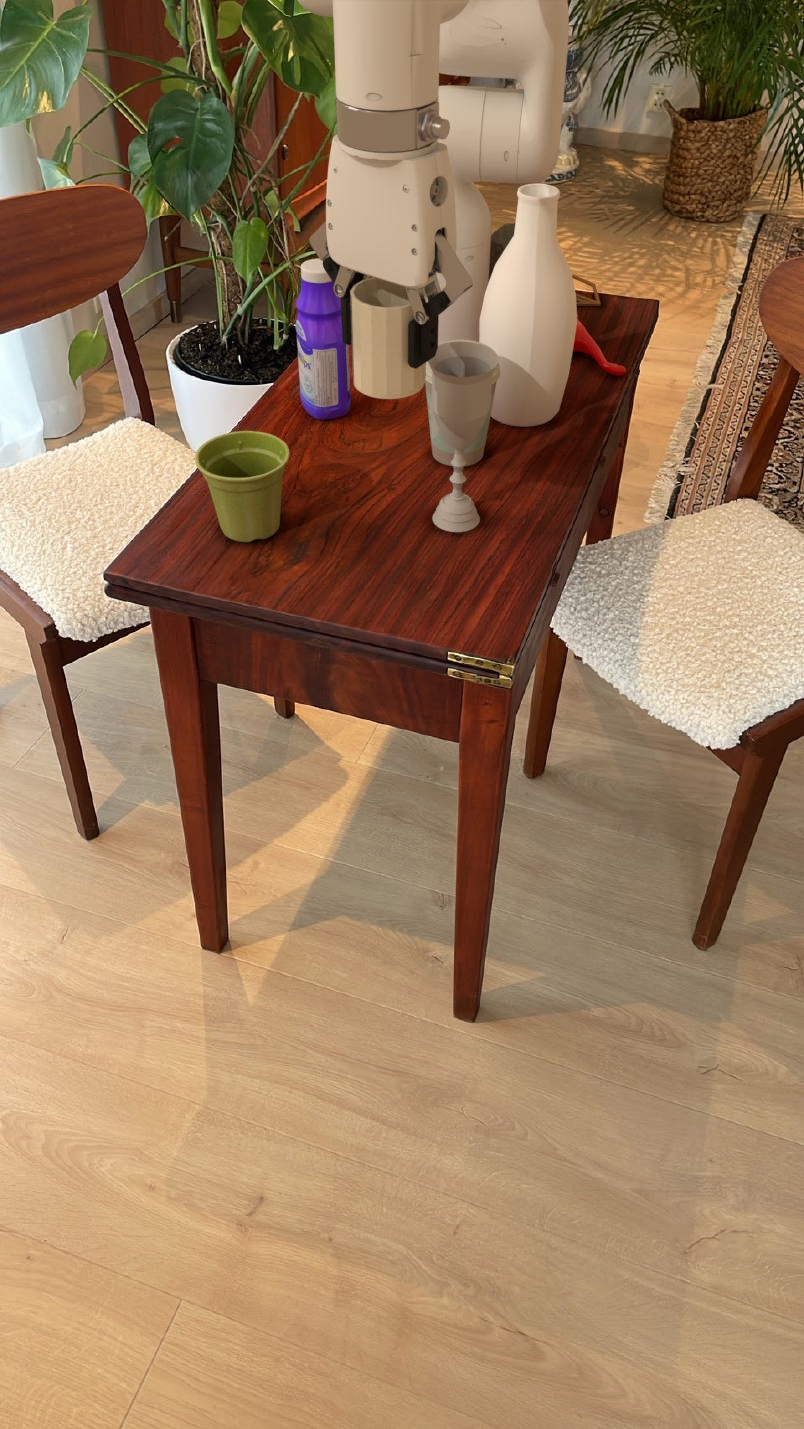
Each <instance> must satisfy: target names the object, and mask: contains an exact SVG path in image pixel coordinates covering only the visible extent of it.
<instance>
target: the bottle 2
mask: <svg viewBox="0 0 804 1429" xmlns="http://www.w3.org/2000/svg"><path fill="white" fill-rule="evenodd" d="M516 195H517V206H516V214H515V215H516V217H515V222H514V223H515V231H514V236H513V237H512V239H511V241H510V242H509V244H508V245H507V247H506V249H505V250H504V252H503V253H502V255H501V256H500V258H499V260H498V261H497V263H496V264H495V267H494V270H493V272H492V275H491V278H490V280H489V283H488V286H487V289H486V292H485V296H484V301H483V306H482V311H481V315H480V320H479V342H480V343H483V344H485V345H487V346H489V347H490V348H492V349H493V350H494V351H495V352H496V354H497V356H498V362H499V365H500V372H501V374H500V377H499V379H498V380H497V382H496V388H495V393H494V399H493V404H492V410H491V415H490V418H492V419H493V420H495V421H497V422H498V423H500V424H503V425H507V426H511V427H522V428H526V427H536V426H541V425H544V424H546V423H548V422H549V421H551V420H552V419H553V418H555V416H556V415H557V414H558V413H559V411H560V409H561V406H562V405H561V404H562V401H563V398H564V394H565V390H566V387H567V382H568V378H569V375H570V370H571V364H572V358H573V353H574V352H573V346H574V339H575V333H576V326H577V314H578V310H577V308H578V306H577V305H576V302H577V301H576V288H575V283H574V279H573V278H572V275H573V274H572V269H571V266H570V265H569V263H568V260H567V258H566V255H565V253H564V251H563V249H562V247H561V245H560V242H559V240H558V237H557V228H558V227H557V226H558V206H559V204H558V203H559V198H560V196H561V190H560V189H559V188H558V187H556V186H554V185H551V184H548V183H547V184H546V183H528V184H524V185H521V186H519V187H518V188H517V192H516Z"/></svg>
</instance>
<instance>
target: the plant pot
mask: <svg viewBox="0 0 804 1429" xmlns="http://www.w3.org/2000/svg"><path fill="white" fill-rule="evenodd" d="M289 459H290V449H289V446H288V444H287V443H286V442H285V441H284V440H282V439H281V438H279V437H278V436H276V435H274V434H271V433H267V432H263V431H254V430H237V431H231V432H227V433H223V434H219V435H217V436H214V437H212V438H210V439H208V440H207V441H205V442H204V443H202V445H200V446H199V447H198V449H197V450H196V452H195V456H194V461H195V462H194V463H195V465H196V468H197V469H198V471H199V472H200V473H202V477H203V479H204V480H205V482H206V483H207V486H208V489H209V492H210V496H211V499H212V502H213V507H214V509H215V513H216V516H217V519H218V523H219V527H220V529H221V532H222V533H223V535H224V536H225V537H226V538H228V539H230V540H232V541H235V542H240V543H251V542H253V541H256V540H266V539H269V538H270V537H272V536H273V535H275V534H276V533H277V531H278V530H279V528H280V523H281V506H282V489H283V475H284V474H285V470H286V465H287V464H288V461H289Z"/></svg>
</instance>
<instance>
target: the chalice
mask: <svg viewBox="0 0 804 1429" xmlns="http://www.w3.org/2000/svg"><path fill="white" fill-rule="evenodd" d="M428 363H429V365H430V367H431V369H432V405H431V407H432V410H433V413H434V416H435V419H436V423H437V425H438V427H439V429H440V431H441V433H442V435H443V437H444V439H445V441H446V443H447V445H448V446H449V447H451V448H454V450H455V454H454V458H453V460H452V461H451V464H452V466H451V467H452V468H453V472H452V475H450V476H449V481H450V482H451V483H452V492H450V493H448V494H446V495H444V496H443V497H442V498H441V499H440V500H439V503H438V505H437V507H436V509H435V511H434V513H433V515H432V522H433V524H434V525H435V526H436V527H437V528H438V529H441V530H443V531H446V532H451V533H464V532H469V531H471V530H474V529H475V528H476V527H477V526H478V525H479V523H480V522H481V517H480V515H479V512H478V509H477V508H476V506H475V502H474V500H473V499H472V498H471V497H470V496H469V495H468V494H465V493H464V492H463V489H462V488H463V484H464V483H465V482H466V481H467V477H466V476H465V475H464V472H463V470H464V467H466V466H465V465H466V461H465V460H464V455H463V451H464V449H465V448H468V447H470V446H471V445H472V444H473V442H474V440H475V438H476V437H477V435H478V433H479V432H480V430H481V428H482V426H483V425H484V422H485V420H486V418H487V415H488V413H489V410H490V406H491V390H492V374H493V371H494V369H495V367H496V366H497V364H498V356H497V354H496V352H495V351H493V350H492V349H491V348H489V347H487V346H484V345H482V344H478V343H472V342H452V343H446V344H443V345H440V346H438V349H437V351H436V355H435V356H434V357H433V358H432V359H430V360H429V361H428Z"/></svg>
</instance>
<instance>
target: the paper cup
mask: <svg viewBox="0 0 804 1429" xmlns="http://www.w3.org/2000/svg"><path fill="white" fill-rule="evenodd" d="M422 291H423V295H424V298H425V301H426V303H427V295H426V292H425V289H424V288H422ZM350 304H351V336H352V344H351V358H352V359H351V363H352V366H351V367H352V380H353V382H352V383H353V385H354V388H355V389H356V390H357V391H358V392H360V393H361V394H362V395H365V396H368V397H371V398H374V399H380V400H399V399H403V398H408V397H410V396H413V395H415V394H417V393H418V392H420V391H421V390H422V389H423V388H424V386H425V378H426V363H424V364H423V365H421V366H420V367H418V368H416V369H415V368H412V367H410V366H409V364H408V324H409V322H410V321H412V320H413V319H415V318H414V315H413V312H412V308H411V305H410V302H409V299H408V296H407V292H406V289H405V287H403V286H400V285H397V284H394V283H390V282H387V281H384V280H381V279H378V278H374V277H368V278H366V279H364V280H362V281H360V282H358V283H357V284H355V285H354V286H353V287H352V289H351V291H350Z"/></svg>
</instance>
